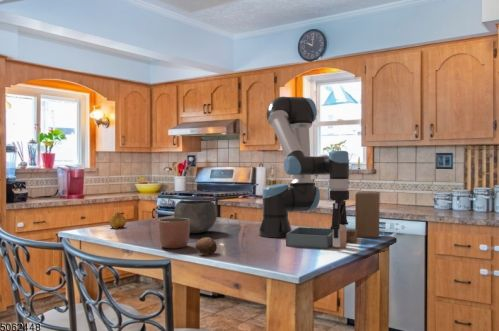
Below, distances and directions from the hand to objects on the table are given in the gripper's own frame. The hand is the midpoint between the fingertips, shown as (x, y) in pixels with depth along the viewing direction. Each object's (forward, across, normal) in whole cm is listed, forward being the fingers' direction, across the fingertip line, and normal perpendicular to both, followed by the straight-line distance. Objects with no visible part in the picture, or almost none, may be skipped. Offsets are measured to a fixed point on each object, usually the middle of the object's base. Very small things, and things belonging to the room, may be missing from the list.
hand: (339, 243), depth 176 cm
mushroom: (+2, -29, +44) cm, 53 cm away
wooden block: (+2, +31, -7) cm, 32 cm away
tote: (+1, +5, +12) cm, 13 cm away
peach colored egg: (+2, 0, 0) cm, 2 cm away
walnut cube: (+2, +14, -2) cm, 15 cm away
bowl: (+1, +12, +71) cm, 72 cm away
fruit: (0, +12, +117) cm, 118 cm away
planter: (+2, -22, +62) cm, 66 cm away
